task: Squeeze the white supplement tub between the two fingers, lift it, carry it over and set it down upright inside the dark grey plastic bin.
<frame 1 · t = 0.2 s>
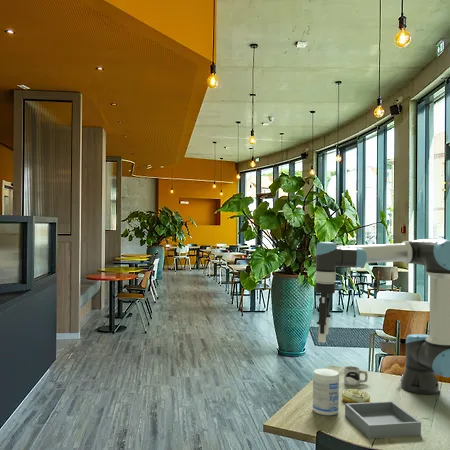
hand: (323, 338, 179), 26 cm above the table, tool pointing down, fingers open, 13 cm apart
supplement tub: (325, 411, 176), on the table
bin: (381, 424, 164), on the table
decorated donut: (355, 402, 186), on the table
mug: (355, 384, 207), on the table
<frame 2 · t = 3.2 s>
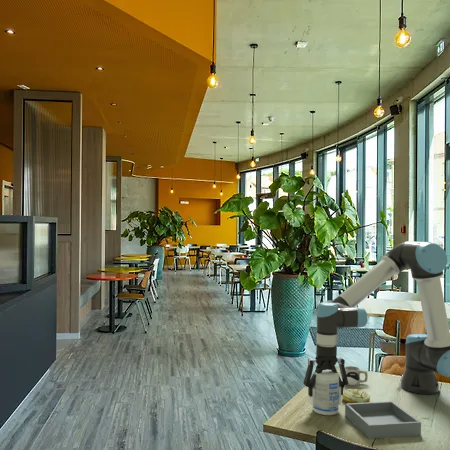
hand: (325, 404, 176), 3 cm above the table, tool pointing down, fingers closed on supplement tub, 9 cm apart
supplement tub: (325, 411, 176), on the table, touching gripper
everything else where it was.
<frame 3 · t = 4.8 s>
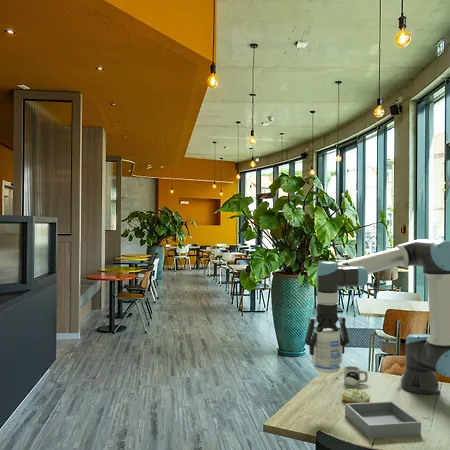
hand: (326, 362, 176), 18 cm above the table, tool pointing down, fingers closed on supplement tub, 9 cm apart
supplement tub: (326, 370, 176), point 15 cm above the table, touching gripper
everything else where it was.
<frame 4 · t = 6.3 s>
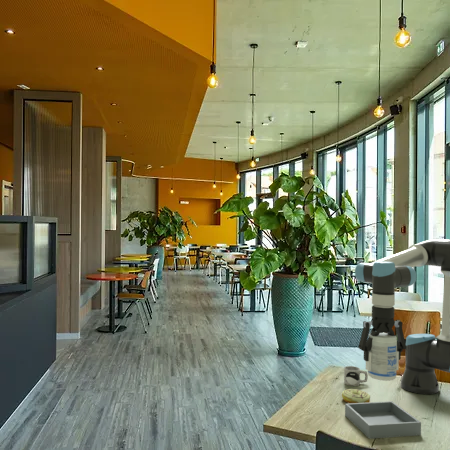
hand: (381, 369, 164), 19 cm above the table, tool pointing down, fingers closed on supplement tub, 9 cm apart
supplement tub: (381, 377, 164), point 17 cm above the table, touching gripper
everything else where it was.
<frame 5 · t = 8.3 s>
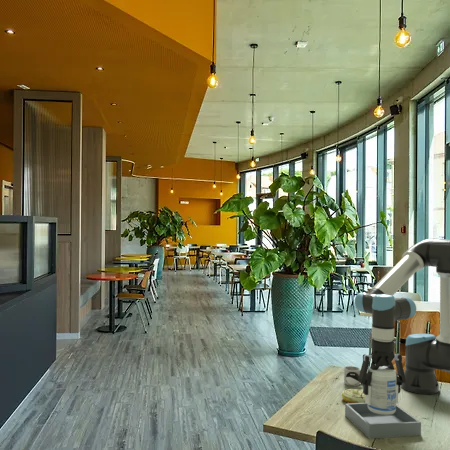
hand: (381, 403, 164), 8 cm above the table, tool pointing down, fingers closed on supplement tub, 9 cm apart
supplement tub: (381, 411, 164), point 5 cm above the table, touching gripper
everything else where it was.
when the fingers open (5 cm above the table, at t = 9.8 s): supplement tub drops 2 cm, resting on bin.
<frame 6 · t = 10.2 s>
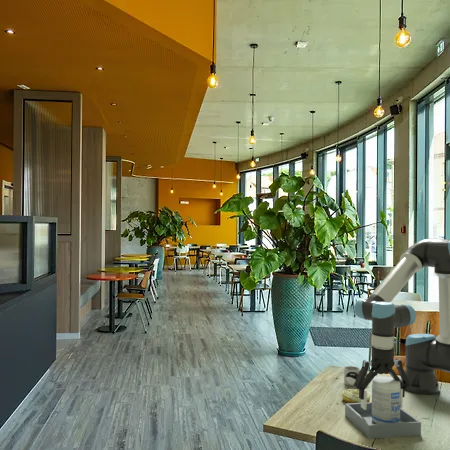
hand: (381, 407, 164), 6 cm above the table, tool pointing down, fingers open, 13 cm apart
supplement tub: (385, 422, 165), point 1 cm above the table, touching bin, gripper
everything else where it was.
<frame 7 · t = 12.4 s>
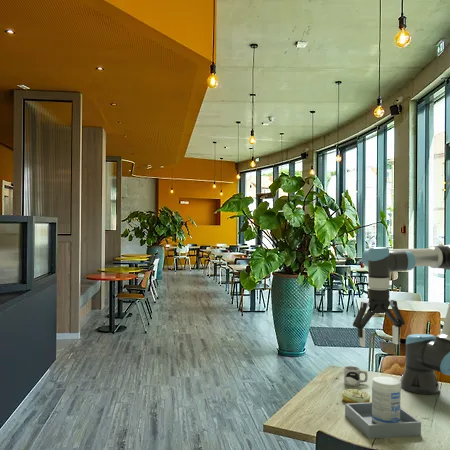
hand: (379, 344, 176), 25 cm above the table, tool pointing down, fingers open, 13 cm apart
supplement tub: (385, 422, 165), point 1 cm above the table, touching bin
everything else where it was.
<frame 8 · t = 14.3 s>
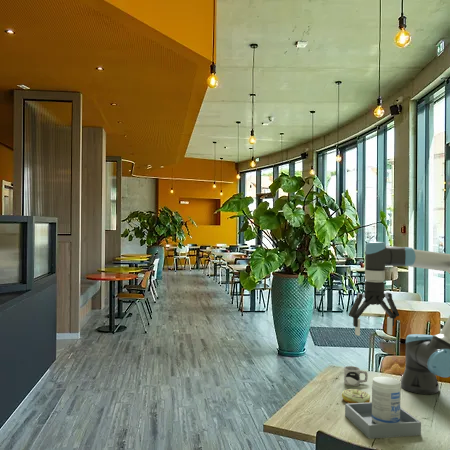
hand: (373, 334, 185), 27 cm above the table, tool pointing down, fingers open, 13 cm apart
nothing on the table moved.
at the end: supplement tub inside the target area on the bin (1.8 cm from its centre), point 0.6 cm above the bin's base; supplement tub tilted 0°; the gripper is holding nothing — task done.
